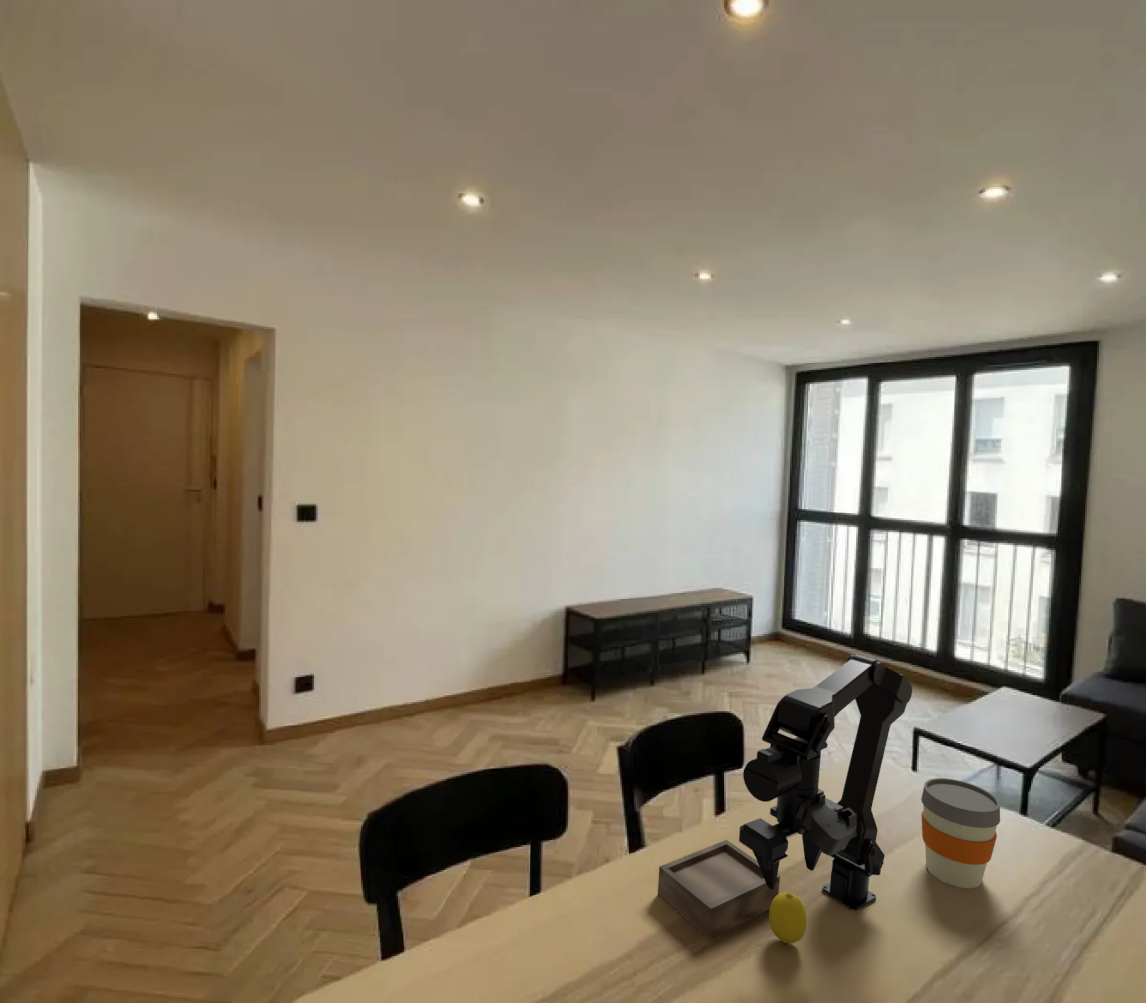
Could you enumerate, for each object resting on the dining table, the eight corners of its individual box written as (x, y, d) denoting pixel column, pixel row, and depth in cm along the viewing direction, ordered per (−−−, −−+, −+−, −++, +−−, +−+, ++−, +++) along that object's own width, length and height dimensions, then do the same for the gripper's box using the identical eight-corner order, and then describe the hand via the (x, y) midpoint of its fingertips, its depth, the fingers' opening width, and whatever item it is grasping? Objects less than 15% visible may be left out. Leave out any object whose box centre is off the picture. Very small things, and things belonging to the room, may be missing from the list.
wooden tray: (724, 866, 123) (726, 839, 123) (777, 904, 113) (779, 876, 113) (657, 894, 114) (659, 866, 114) (708, 939, 104) (710, 908, 104)
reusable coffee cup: (979, 904, 116) (987, 820, 115) (903, 868, 125) (911, 790, 124) (1003, 876, 124) (1011, 798, 123) (931, 844, 133) (938, 771, 132)
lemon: (807, 959, 101) (811, 908, 101) (768, 952, 102) (772, 901, 102) (802, 933, 107) (806, 885, 106) (765, 927, 108) (769, 879, 107)
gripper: (803, 822, 91) (794, 933, 92) (883, 789, 101) (875, 888, 102) (740, 786, 100) (733, 886, 101) (819, 758, 110) (812, 850, 112)
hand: (790, 878), depth 104 cm, fingers open, 9 cm apart
